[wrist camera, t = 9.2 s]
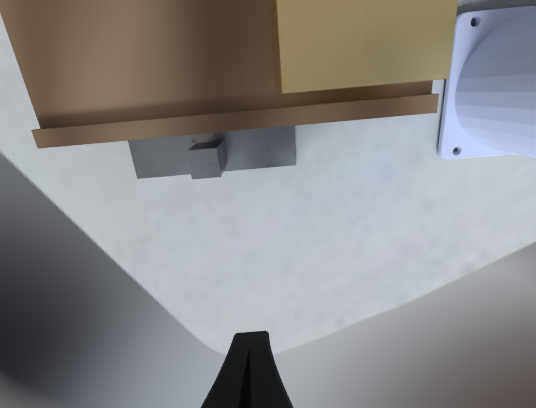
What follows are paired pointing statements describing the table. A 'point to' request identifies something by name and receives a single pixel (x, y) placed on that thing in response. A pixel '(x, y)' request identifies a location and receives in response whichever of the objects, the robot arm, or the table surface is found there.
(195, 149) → the beam stand
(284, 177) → the table surface
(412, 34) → the rider
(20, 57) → the beam
